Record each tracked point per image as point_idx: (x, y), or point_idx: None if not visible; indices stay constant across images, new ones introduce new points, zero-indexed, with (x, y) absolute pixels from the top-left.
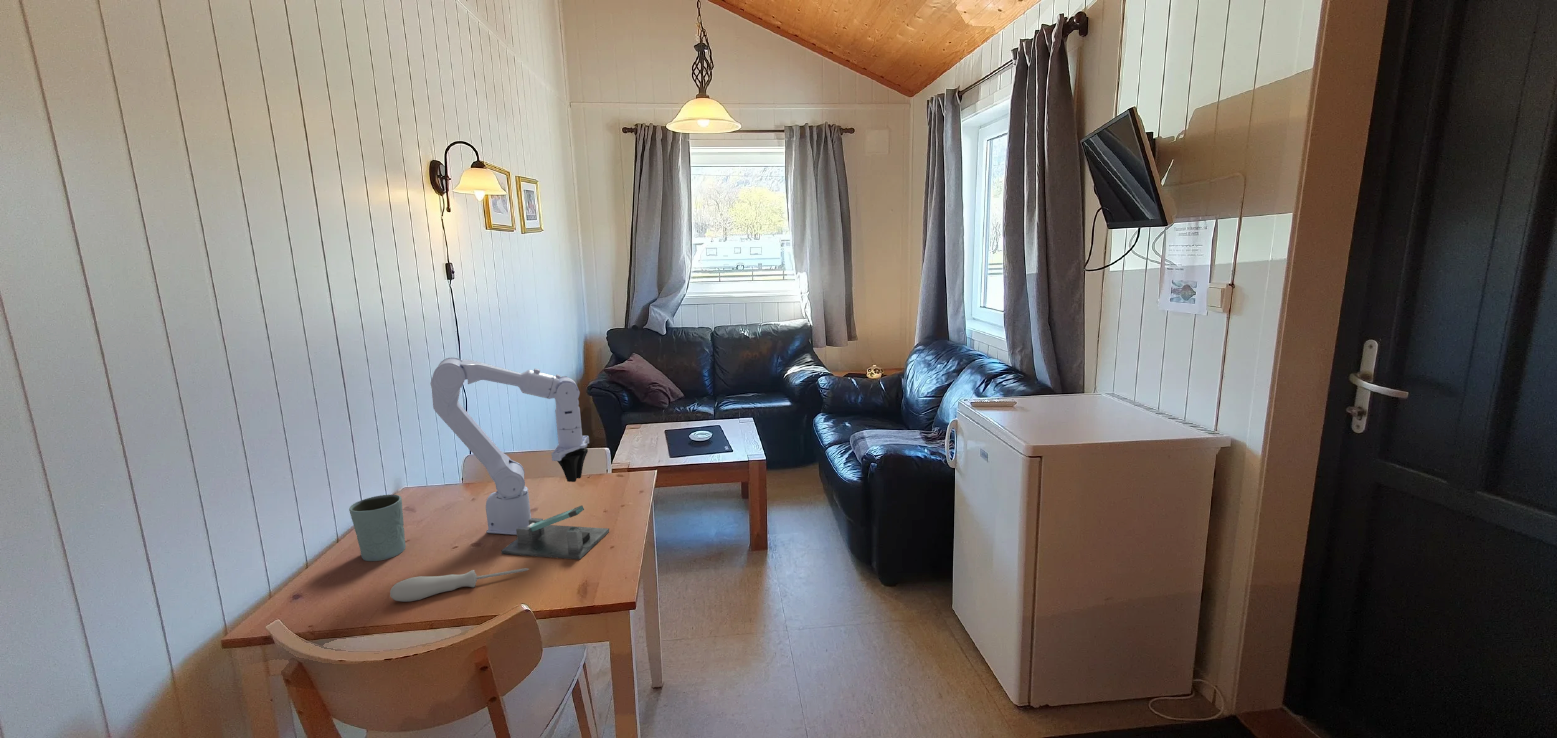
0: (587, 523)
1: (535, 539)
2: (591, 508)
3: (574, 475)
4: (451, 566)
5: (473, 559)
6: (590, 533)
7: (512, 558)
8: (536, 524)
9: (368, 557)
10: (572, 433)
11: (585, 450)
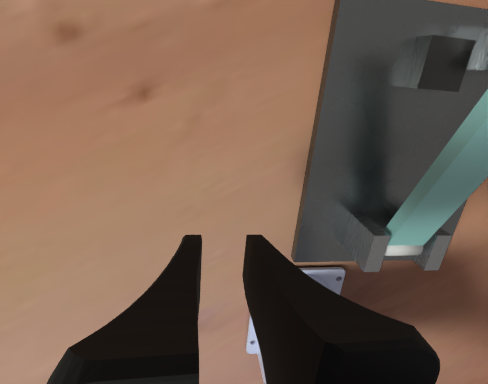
0: (261, 116)
1: (395, 212)
2: (127, 161)
3: (279, 254)
4: (469, 312)
5: (448, 292)
6: (378, 52)
7: (465, 217)
8: (423, 230)
9: None
10: None
11: (154, 378)
